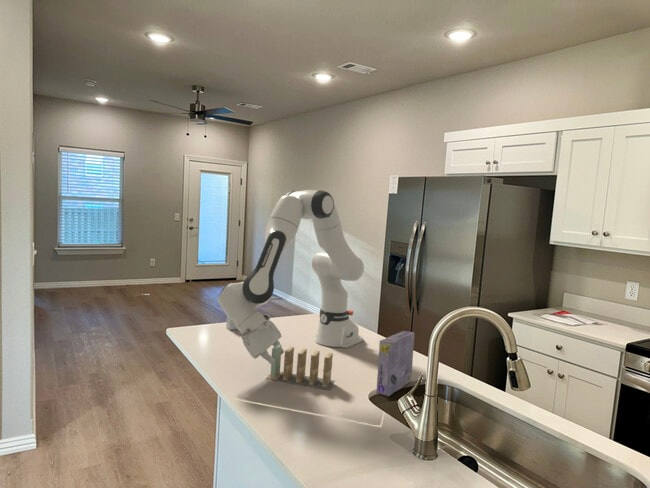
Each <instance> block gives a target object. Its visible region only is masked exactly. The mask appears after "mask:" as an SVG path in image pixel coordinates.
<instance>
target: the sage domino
mask: <svg viewBox="0 0 650 488" xmlns="http://www.w3.org/2000/svg"><path fill="white" fill-rule="evenodd" d="M282 346H283V345H282V344H281V345H279V344H277V345H276V346H275V347H274V346H273V347H272V349H271V356H273V357H274V358H275V362H274V363H272V364H270V374H271V375H270V374H269V375H270V378H276V377H277V376H278V375H279V373H280V372H281V363H282V361H281V359H282V355H281V348H282V349H283V347H282Z"/></svg>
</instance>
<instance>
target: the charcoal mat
mask: <svg viewBox="0 0 650 488" xmlns="http://www.w3.org/2000/svg"><path fill="white" fill-rule="evenodd" d="M283 373H284V371H280V373H279V375H278V376H277V377H276V378H270V375H271V373H270V374H268V375H267V377H266V378H265V380H266V381H267V380H268V381H272V382H279V383H285V384H290V385H297V386H300V387H301V386H303V387H308V388H313V389H317V390H318V389H319V390H325V391H331V389H332V387H333V386H334V383H335V382H336V381H335V380H333V379H331V382H330V384H329V386H328V387H327V388H325V387H322V385H323V378H321V377H318V380H317V381H316V383H315V385H314V386H313V385H309V379H310V375H305V378H304V379H303V381H302V382H301V383H296V374H297V373H292V376H291V378H290V379H289V380H288V381H284V380H283Z"/></svg>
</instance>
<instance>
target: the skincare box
mask: <svg viewBox="0 0 650 488" xmlns="http://www.w3.org/2000/svg"><path fill="white" fill-rule="evenodd" d="M226 329H228V330H229V331H231V330H232V331H233V330H238V328H237V327H236V325H235V323H234V321H233V320H232V319H230V318H229V317H228V316H227V315H226Z"/></svg>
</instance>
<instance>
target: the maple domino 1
mask: <svg viewBox="0 0 650 488" xmlns="http://www.w3.org/2000/svg"><path fill="white" fill-rule="evenodd" d="M294 352H295V347H294V346H289V347H287V348H286V349H285V350H284V359H283V361H284V362H283V372H284V373H283V380H284V381H288V380H289V379H290V378H291V376H292V374H293V373H294V372H293V371H294V370H293V369H294V368H293V367H294V356H295V355H294Z"/></svg>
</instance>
